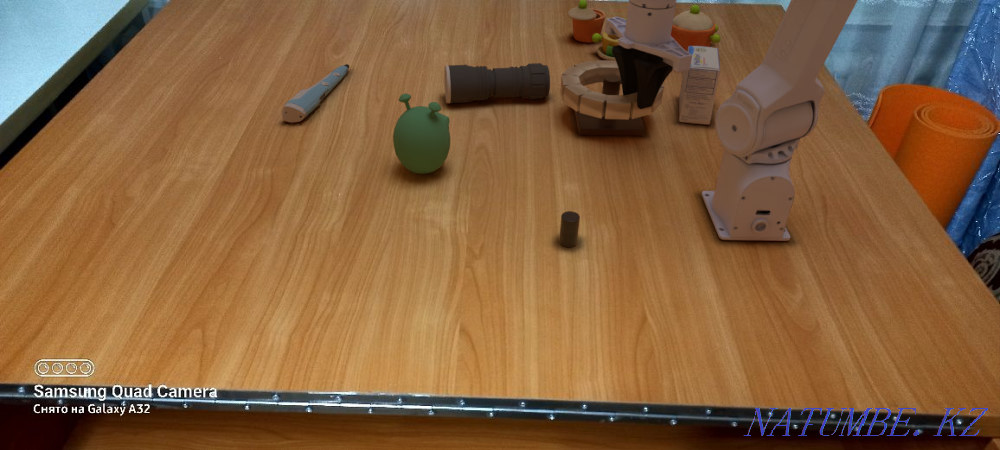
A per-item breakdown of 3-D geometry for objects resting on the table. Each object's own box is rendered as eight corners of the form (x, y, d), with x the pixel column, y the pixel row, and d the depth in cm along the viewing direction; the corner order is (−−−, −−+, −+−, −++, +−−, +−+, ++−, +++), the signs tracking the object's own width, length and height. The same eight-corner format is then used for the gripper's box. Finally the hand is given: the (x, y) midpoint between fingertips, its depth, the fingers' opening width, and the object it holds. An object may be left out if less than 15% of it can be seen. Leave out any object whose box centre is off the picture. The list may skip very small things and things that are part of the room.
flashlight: (544, 88, 114) (546, 55, 110) (551, 104, 109) (554, 70, 106) (444, 93, 111) (443, 59, 108) (447, 109, 107) (447, 75, 104)
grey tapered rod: (302, 126, 102) (299, 107, 100) (281, 123, 103) (278, 104, 101) (357, 70, 117) (355, 53, 116) (338, 68, 118) (336, 51, 116)
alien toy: (463, 161, 95) (462, 90, 90) (433, 190, 90) (430, 116, 84) (416, 148, 98) (413, 78, 92) (384, 175, 92) (378, 103, 86)
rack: (643, 136, 102) (650, 93, 98) (578, 135, 102) (583, 91, 98) (633, 106, 109) (639, 65, 106) (573, 105, 109) (576, 64, 105)
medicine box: (709, 126, 105) (721, 69, 100) (677, 122, 106) (687, 65, 101) (708, 102, 111) (719, 47, 106) (678, 98, 112) (687, 44, 107)
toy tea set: (712, 37, 132) (723, -17, 127) (724, 73, 120) (736, 15, 114) (566, 28, 134) (570, -26, 129) (562, 63, 122) (567, 5, 116)
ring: (668, 120, 98) (671, 104, 97) (564, 118, 98) (566, 102, 96) (651, 76, 109) (653, 61, 108) (557, 74, 109) (558, 59, 108)
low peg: (577, 247, 81) (580, 221, 79) (559, 247, 81) (562, 221, 79) (576, 236, 83) (578, 211, 81) (558, 236, 83) (560, 210, 81)
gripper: (590, -12, 94) (581, 87, 102) (666, 26, 84) (649, 132, 92) (634, -20, 97) (622, 77, 105) (712, 16, 87) (692, 119, 95)
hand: (637, 102), depth 99 cm, fingers closed on ring, 2 cm apart
